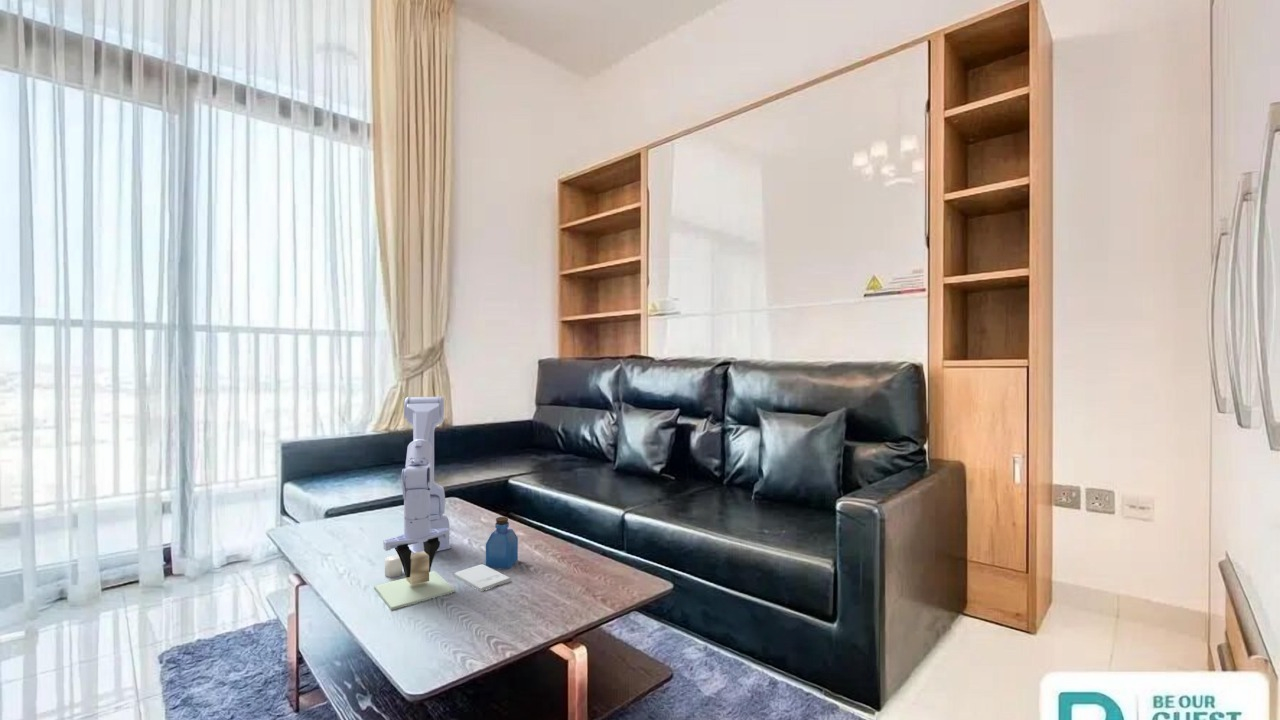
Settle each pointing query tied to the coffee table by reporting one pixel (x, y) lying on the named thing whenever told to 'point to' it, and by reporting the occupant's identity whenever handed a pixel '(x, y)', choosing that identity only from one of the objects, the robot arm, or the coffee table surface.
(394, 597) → the sage mat
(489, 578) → the external hard drive
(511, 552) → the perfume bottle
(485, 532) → the coffee table surface
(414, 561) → the birch block
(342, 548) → the coffee table surface
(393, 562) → the ceramic cylinder
